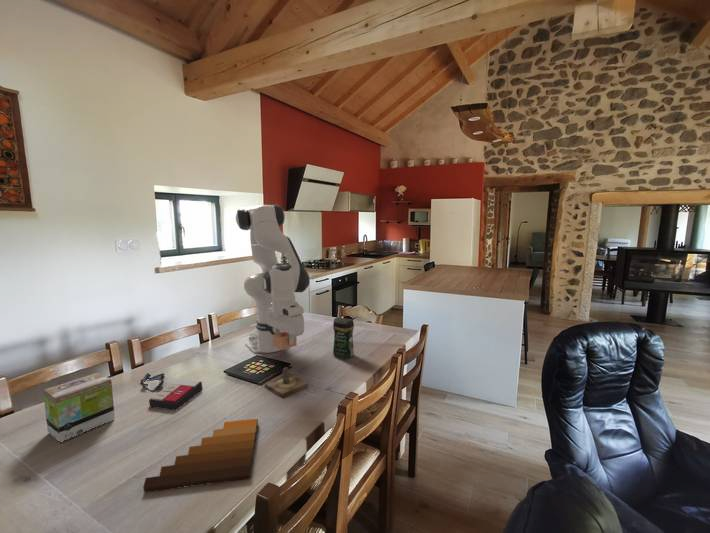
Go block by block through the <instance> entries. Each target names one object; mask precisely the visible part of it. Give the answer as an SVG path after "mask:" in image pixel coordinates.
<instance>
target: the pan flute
mask: <svg viewBox="0 0 710 533" xmlns="http://www.w3.org/2000/svg"><path fill="white" fill-rule="evenodd" d="M258 422H259V420H258V418H254V419H253V418H252V419H243V420H241V419H240V420H234V421H233V420H231V421H224V422H223V428H217V429H213V430H212V436H207V437H201V441H200V442H201V443H200V445H194V446H189V448H188V454H183V455H178V456H177V455H176V456H175V461H174V464H173V465H164V466H163V465H162V466H161V468H160V472H159V475H158V476H150V477H145V478H144V484H143V492H144V493H149V492H148V491H150V492H155V491H156V490H158V491H165V489H166V490H172V489H171V488H173V489H179V488H178V487H181V488H185V487H184V486H189V487H192V486H191V485H197V486H200V485H199V484H204V485H208V484H207V483H212V484H218V482H220V483H226V482H225V481H227V482H233V481H241V480H249V479H251V475H252V474H251V473H252V466H253V459H254V452H255V447H256V446H255V445H256V439H257V433H258V431H257V430H258V424H259V423H258ZM253 451H254V452H253ZM156 492H157V491H156Z"/></svg>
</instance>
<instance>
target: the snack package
mask: <svg viewBox="0 0 710 533" xmlns="http://www.w3.org/2000/svg"><path fill="white" fill-rule="evenodd" d="M147 379H149V380H147ZM164 379H165V373H164V372H163V373H160V374H157V375H153V377H151V372H150V373H146V374H145V375H144V376H143V378H142V379H140V382H141V383H142V382H145V381H146V380H147V382H148V381H154V380H159V381H161V382H159V384H158V386H156V385H155V386H156V388H154V387H153V388H154V390H155V391H156V390H157V388H158V387H159V386H160V384H161V383H162V382H163V381H164ZM142 386H144V388H146V389H147V388H148V384H144V383H142ZM151 390H152V391H151V392H154V391H153V389H151Z"/></svg>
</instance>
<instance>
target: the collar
mask: <svg viewBox="0 0 710 533" xmlns="http://www.w3.org/2000/svg"><path fill="white" fill-rule="evenodd" d="M289 338H290V336H289V333H286V332H284V331H283V332H280V333H277V334H273V346H275V347H278V348H280V349H282V350H287V349H290V348H293V347H296V346H298V345H297V336H295V338H294V343H293V344H291V345H290V344H288V339H289ZM282 350H281V351H282Z"/></svg>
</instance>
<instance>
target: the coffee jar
mask: <svg viewBox="0 0 710 533" xmlns="http://www.w3.org/2000/svg"><path fill="white" fill-rule="evenodd" d="M332 327H333V333H334V339H333V347H332V348H333V351H332V354H333V356H334V357H335V358H340V359H346V360H347V359H351V358H352V357H353V356H354V354H355V352H354V350H355V349H354V348H355V347H354V336H353V333H354V328H355V323H354V319H353V318H352V319H351V318H345V317H340V316H338V317H335V318H334V319H333V324H332Z"/></svg>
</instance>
